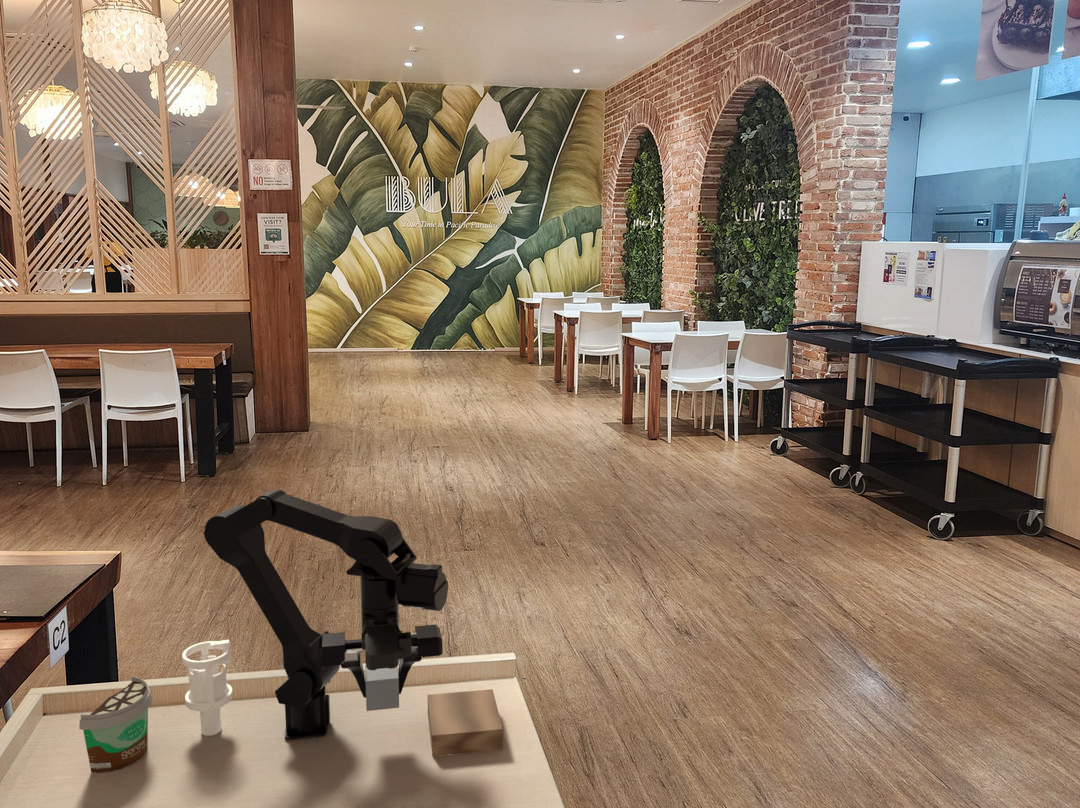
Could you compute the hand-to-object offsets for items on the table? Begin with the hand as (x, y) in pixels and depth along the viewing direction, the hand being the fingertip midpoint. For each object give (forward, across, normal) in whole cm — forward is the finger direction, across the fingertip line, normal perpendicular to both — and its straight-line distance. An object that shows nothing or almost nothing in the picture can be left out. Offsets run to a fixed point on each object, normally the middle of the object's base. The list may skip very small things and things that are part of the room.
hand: (382, 694), depth 134 cm
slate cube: (+1, 0, 0) cm, 1 cm away
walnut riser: (+8, +13, 0) cm, 15 cm away
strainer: (+8, -27, +8) cm, 29 cm away
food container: (+8, -38, +3) cm, 39 cm away
